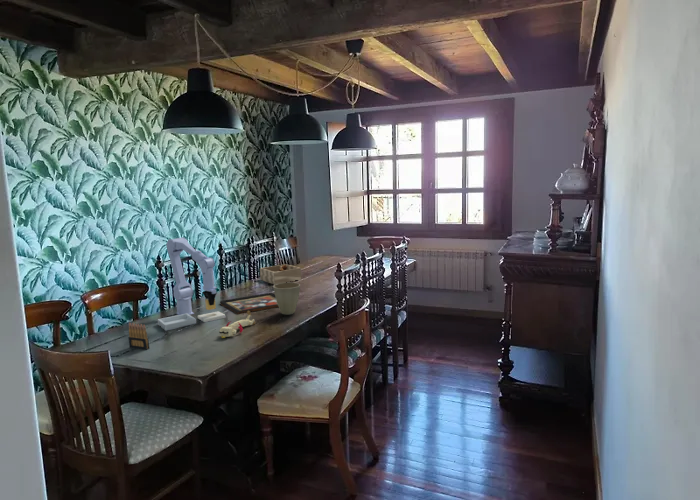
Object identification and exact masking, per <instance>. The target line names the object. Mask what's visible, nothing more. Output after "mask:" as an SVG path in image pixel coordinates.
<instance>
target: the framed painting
mask: <svg viewBox="0 0 700 500" xmlns="http://www.w3.org/2000/svg"><path fill="white" fill-rule="evenodd" d="M219 304H220V305H221V306H222V307H225V308H226V309H228V310H230V311H231V312H233V313H234V314H236V315H240V314H241V315H242V314H247V311H250V312H251V313H255V312H256V313H257V312H260V311H266V310H270V309H277V308H279V306H278V304H277V301H276V297H275V293H274V292H268V293H260V294H255V295H250V296H249V295H248V296H247V295H246V296H243V297H242V296H241V297H237V298H231V299H224V300H220V301H219Z"/></svg>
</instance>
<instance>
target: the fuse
mask: <svg viewBox="0 0 700 500" xmlns="http://www.w3.org/2000/svg"><path fill="white" fill-rule="evenodd" d="M204 302H205V304H204V305H205V309H206V311H211V310H215V309H216V308H217V307H216V305H217V304H216V299H215V300H214V305H209V301H208V299H206V298H204Z"/></svg>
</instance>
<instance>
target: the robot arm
mask: <svg viewBox="0 0 700 500" xmlns="http://www.w3.org/2000/svg"><path fill="white" fill-rule="evenodd" d="M165 245H166V249H167V254H168V256H169V261H170V263H171V268H172V271H173V275H174V279H175V283H176V284H175V285H174V287H173V289H172V290H173V297H174V298H175V300H176V310H177V311H176V312H175V314H176V315H182V314H187V313H188V314H189V315H194V314H195V312H193V308H192V299H193V298H192V297H193V295H194V289H193V287H192V285H191V283H189V282H188V281H187V280H186V279H187V278H186V276H185V275H186V274H185V272H184V268H183V264H182V261H181V260H182V259H181V256H180V255H181V253H182V252H183V251H185V252H186V253H188V254H189V255H190V256H191V259H192V260H193V261H194V262H196V263H197V264H198V265H199V269H200V272H201V273H202V283H203V286H202V290H203V291H202V295H203V296H204V299H208V301H209V305H214V300H215V301H216V296H217V294H218V293H217V290H216V289H217V288H218V287H217V286H215V275H214V268H215V266H216V261H215V260H214V258H213V257H208V256H207V255H205V254H204V253H202V251H201V250H196V249H195V248H194V247H193V246H192V245H191V244H190V243H189V240H188V239H186V238H185V237H184V236H183V237H176V238H172V239H171V238H169V239H168V240H167V242H166V244H165Z"/></svg>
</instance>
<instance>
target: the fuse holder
mask: <svg viewBox="0 0 700 500" xmlns="http://www.w3.org/2000/svg"><path fill="white" fill-rule="evenodd" d="M197 319H198V320H199V321H201V322H203V323H209V322H212V321H216V320H217V321H218V320H222V319H226V314H225V313H223V312H220V311H219V310H218V311H214V312H208V313H204V314H198V315H197Z"/></svg>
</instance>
